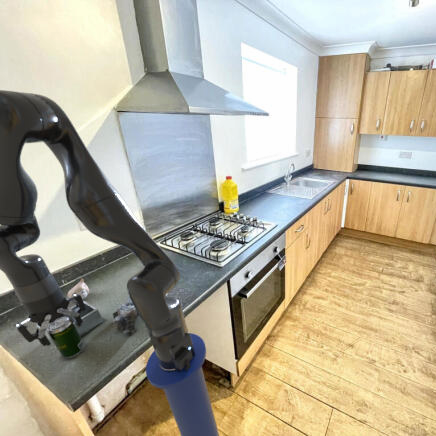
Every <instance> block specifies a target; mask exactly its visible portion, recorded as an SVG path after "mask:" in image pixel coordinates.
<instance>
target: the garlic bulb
mask: <svg viewBox="0 0 436 436" xmlns="http://www.w3.org/2000/svg"><path fill="white" fill-rule="evenodd" d="M84 281H85V279H84V278H82V277H81V279H80V280H79V282H78V283H77V284H76V285H74V286H73V287H72V288H71V289H69V290H68V292H67V298H69V297H71V296H72V294H73V293H77V294H79V295H81V297H82V300H83V301H84V300H85V299H86V298H87V297H88V296H89V294H90V289H89V287H88V285H87V284H86V283H85V282H84Z"/></svg>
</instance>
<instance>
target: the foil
mask: <svg viewBox="0 0 436 436" xmlns="http://www.w3.org/2000/svg"><path fill="white" fill-rule="evenodd" d="M120 306H121V307H120ZM120 306H118V308H117V309H116V311H115V312H113V313H112V317H113V319H112V320H111V324H113V326H112V328H114V329H115V330H116V332H118V334H119V333H122V334H126V333H129V332H130V333H131V335H133V333H134V332H135V331H136V320H137V317H138V313H137V311H136V309H135V307H134V305H133V303H132V301H131V299H130V296H129V295H128V302H126V303H122V304H120Z"/></svg>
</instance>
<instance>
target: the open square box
mask: <svg viewBox="0 0 436 436" xmlns="http://www.w3.org/2000/svg"><path fill="white" fill-rule="evenodd" d="M83 302H84V305H85V308H86V310H85V311H82V312H81V313H80V317H81V319H82V321H83V322H82V323H81V326H79V327H78V326H77V325H76V324H75V322H74V320H73V319H72V317H71V316H69V315H66V314H64V315H63V317H68V318H69V319H71V320H72V322H73V324H74V326H75V328H76V330H77V331H78V333H79V335H80V337H81V338H82V336H84V335H85V334H87V333H88V332H89V331H91V330H93V329H95V328H96V327H97V326H99V325H100V324H102V323H103V322H104V320H103V317H102V315H101V313H100V310H99V308H97V307H95V306H93V305H92V304H91V303H89V302H88V301H86V300H83ZM68 308H69V309H72V310H75V309H76V308H77V307H76V304H75V305H73V306H72V307H68ZM61 318H62V317H61ZM58 319H59V318H58Z"/></svg>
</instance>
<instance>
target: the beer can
mask: <svg viewBox="0 0 436 436" xmlns="http://www.w3.org/2000/svg"><path fill="white" fill-rule="evenodd" d="M46 332H47V334H48V336H49V338H50V339H51V340H52V342H53V344H54V346H55V347H56V349H57V350H58V352H59V354H60V355H61V357H62V358H65V359H72V358H74V357H76V356H77V355H79V354H80V353H82V351H84V348H85V342H84V340H83V339H82V336H81V337H80V335H79V333H78V331H77V330H76V328H75V326H74V324H73V322H72V320H71V319H69V318H68V317H62V318H59V319H56V320H55V321H54V322H52V323H49V324H48V328H47V330H46Z"/></svg>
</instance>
